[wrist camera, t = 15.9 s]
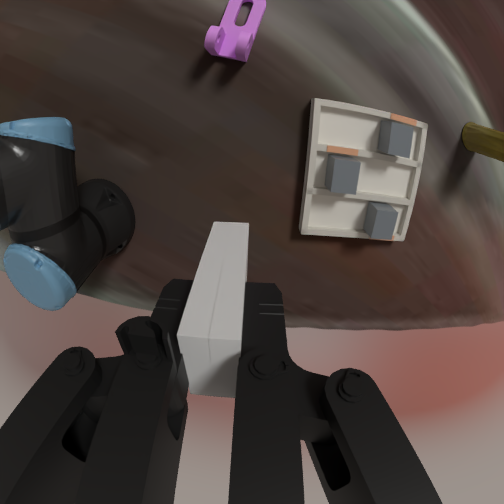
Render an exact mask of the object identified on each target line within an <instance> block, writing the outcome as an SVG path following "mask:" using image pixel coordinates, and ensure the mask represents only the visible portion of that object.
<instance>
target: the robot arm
mask: <svg viewBox="0 0 504 504" xmlns="http://www.w3.org/2000/svg"><path fill="white" fill-rule="evenodd" d="M75 151H76V149H75V147H74V142H73V128H72V125H71V123H70V121H69V120H67V119H65V118H61V117H42V118H30V119H22V120H17V121H12V122H5V123H1V124H0V231H1V230H3V229H5V228H7V227H8V230H9V233H10V238H11V241H12V244H11V245H9V246H8V248H7V250H6V252H5V254H4V267H5V270H6V273H7V275H8V277H9V279H10V281H11V282H12V284H13V285H14V287H15V288H16V289H17V290H18V292H19V293H20V294H21V295H22V296H23V297H25V298H26V299H27V300H28V301H29V302H31V303H32V304H34V305H36V306H37V307H39V308H42V309H45V310H50V311H54V310H59V309H61V308H62V307H63V306H65V304H66V303H67V302H68V301H69V300H70V299H71V298H72V297H74V295H75V294H76V292H77V291H78V290H79V288H80V287H81V286H82V284H83V283H84V282H85V280H86V279H87V278H88V276H89V275H90V274H91V272H92V271H93V270H94V268H95V267H96V266H97V265H98V263H99V262H100V261H101V260H103V259H105V258H107V257H110V256H112V255H114V254H116V253H118V252H120V251H121V250H122V249H123V248H124V247H125V246H126V245H127V244H128V242H129V241H130V240H131V238H132V236H133V233H134V229H135V215H134V210H133V207H132V205H131V202H130V201H129V199H128V197H127V196H126V194H125V193H124V192H123V191H122V190H121V189H120V188H119V187H118V186H117V185H115V184H114V183H112V182H110V181H107V180H104V179H92V180H89V181H86V182H85V183H83V184H81V185H79V186H78V187H77V181H76V168H75ZM248 234H249V223H234V222H214V224H213V227H212V229H211V232H210V235H209V238H208V241H207V243H206V246H205V249H204V252H203V255H202V258H201V261H200V264H199V267H198V270H197V273H196V276H195V279H194V280H182V279H173V280H172V281H170V282H169V283H168V284H167V285H166V286H165V287H164V288H163V290H162V292H161V295H160V297H159V299H158V301H157V304H156V307H155V308H154V310H153V313H152V315H151V317H149V316H138V317H135V318H132V319H129V320H127V321H125V322H124V323H122V324H121V325H120V326H119V327H118V329H117V330H116V331H115V333H116V335H117V338H118V340H119V343H120V345H121V347H122V350H123V352H124V355H121V356H116V357H107V358H95V357H94V355H93V353H92V352H90V351H89V350H88V349H87V348H83V347H71V348H69V349H66V350H64V351H63V352H62V353H61V354H60V355H58V357H57V358H56V359H55V360H54V361H53V362H52V364H51V365H50V366H49V367H48V368H47V369H46V371H45V372H44V373H43V374H42V375H41V376H40V378H39V379H38V380H37V381H36V383H35V384H34V385H33V386H32V388H31V389H30V390H29V391H28V393H27V394H26V395H25V396H24V398H23V399H22V400H21V402H20V403H19V404H18V405H17V407H16V408H15V409H14V411H13V412H12V413H11V415H10V416H9V417H8V419H7V420H6V422H5V423H4V425H3V426H2V427H1V429H0V504H173V503H174V495H175V488H176V481H177V474H178V468H179V461H180V455H181V448H182V441H183V436H184V430H185V424H186V418H187V412H188V404H187V400H186V397H187V392H188V387H189V390H190V393H191V394H197V395H207V396H217V397H231V398H235V409H234V424H233V439H232V453H231V469H230V485H229V501H228V504H304V486H303V470H302V455H301V444H300V440H304V441H305V443H306V446H307V448H308V451H309V453H310V456H311V459H312V461H313V464H314V467H315V469H316V472H317V474H318V477H319V479H320V482H321V484H322V487H323V489H324V492H325V494H326V497H327V500H328V502H329V504H442V502H441V500H440V498H439V496H438V494H437V492H436V490H435V488H434V486H433V484H432V482H431V480H430V478H429V476H428V475H427V473H426V471H425V469H424V467H423V465H422V463H421V461H420V460H419V458H418V456H417V454H416V452H415V451H414V449H413V447H412V445H411V443H410V442H409V440H408V438H407V436H406V434H405V433H404V431H403V429H402V427H401V426H400V424H399V422H398V420H397V419H396V417H395V415H394V413H393V412H392V410H391V408H390V407H389V405H388V403H387V402H386V400H385V398H384V397H383V395H382V394H381V391H380V390H379V388H378V387H377V385H376V383H375V382H374V380H373V379H372V378H371V377H370V376H369V375H368V374H366V373H364V372H362V371H360V370H357V369H353V368H347V369H340V370H338V371H336V372H334V373H332V374H331V375H330V377H328V376H324V375H320V374H316V373H312V372H309V371H306V370H303V369H302V368H301V367H299V366H297V365H296V364H295V363H294V362H293V361H292V359H291V357H290V356H289V353H288V349H287V338H286V329H285V319H284V310H283V301H282V293H281V291H280V290H279V289H278V287H277V286H276V285H275V283H252V282H246V281H247V258H248Z"/></svg>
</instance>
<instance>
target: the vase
mask: <svg viewBox="0 0 504 504" xmlns="http://www.w3.org/2000/svg"><path fill="white" fill-rule="evenodd" d="M462 139H463V143H464V145H465V147H466V148H467V149H468V150H469V151H472V152H476V153H479V154H483V155H485V156H488V157H491V158H494V159H497V160H499V161H502V162H504V133H503V132H500V131H497V130H494V129H490V128H487V127H484V126H481V125H477V124H475V123H473V122H469V123H467V124H466V125H465V126H464V128H463V132H462Z"/></svg>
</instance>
